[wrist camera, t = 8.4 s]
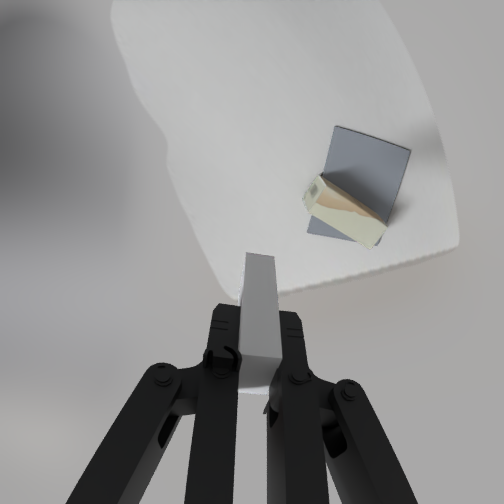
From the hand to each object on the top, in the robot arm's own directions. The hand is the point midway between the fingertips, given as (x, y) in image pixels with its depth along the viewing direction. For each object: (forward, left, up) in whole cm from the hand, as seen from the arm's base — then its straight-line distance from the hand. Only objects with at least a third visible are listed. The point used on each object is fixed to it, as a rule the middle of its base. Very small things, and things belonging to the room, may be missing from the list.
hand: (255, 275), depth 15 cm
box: (+1, +7, -21) cm, 23 cm away
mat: (0, +15, -24) cm, 29 cm away
